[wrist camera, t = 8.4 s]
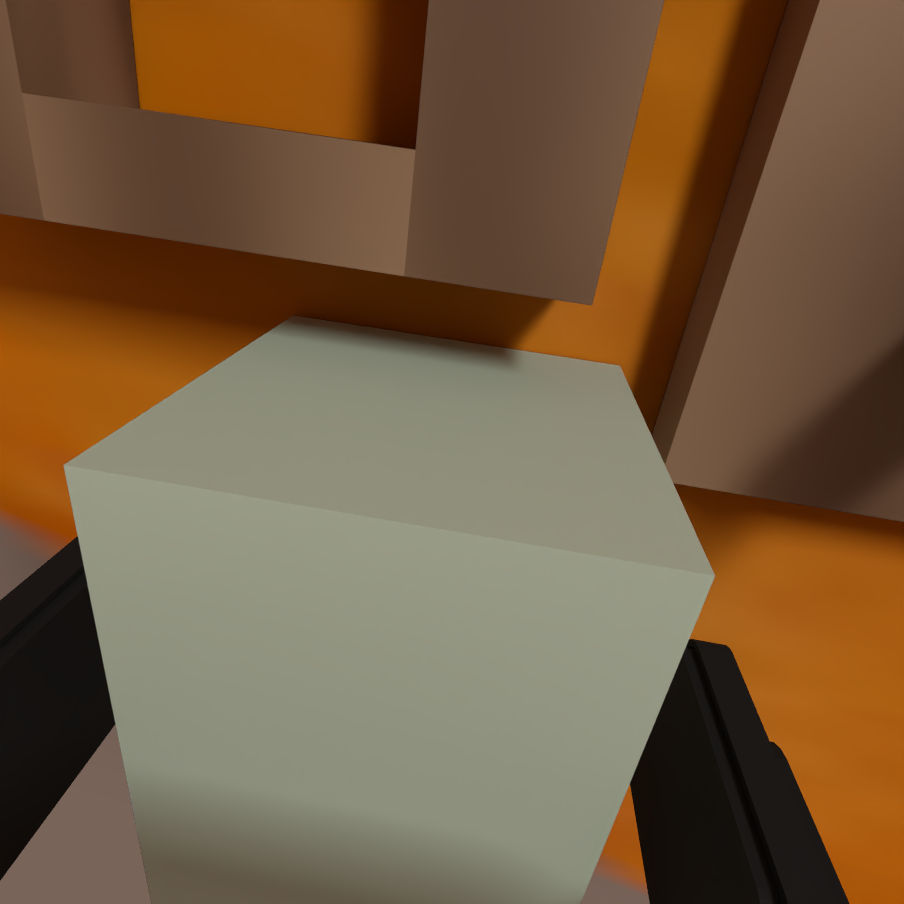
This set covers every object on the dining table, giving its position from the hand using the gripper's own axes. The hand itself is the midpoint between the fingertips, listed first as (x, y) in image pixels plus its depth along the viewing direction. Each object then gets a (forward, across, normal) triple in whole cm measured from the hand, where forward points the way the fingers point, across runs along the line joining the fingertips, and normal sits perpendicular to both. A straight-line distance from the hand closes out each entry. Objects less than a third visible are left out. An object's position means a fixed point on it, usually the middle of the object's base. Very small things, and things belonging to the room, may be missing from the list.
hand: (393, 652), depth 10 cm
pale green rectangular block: (+3, 0, 0) cm, 3 cm away
